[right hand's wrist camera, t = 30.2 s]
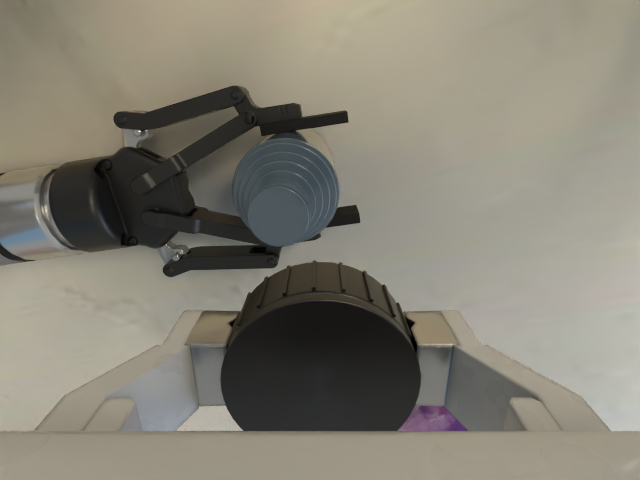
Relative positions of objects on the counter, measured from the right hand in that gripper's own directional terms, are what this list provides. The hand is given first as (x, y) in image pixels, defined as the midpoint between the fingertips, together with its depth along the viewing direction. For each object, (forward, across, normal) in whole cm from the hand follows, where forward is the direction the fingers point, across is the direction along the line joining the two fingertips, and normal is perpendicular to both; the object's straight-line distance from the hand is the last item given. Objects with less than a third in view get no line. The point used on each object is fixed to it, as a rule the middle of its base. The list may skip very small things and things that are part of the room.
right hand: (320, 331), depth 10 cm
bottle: (+28, +2, 0) cm, 28 cm away
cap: (-2, 0, 0) cm, 2 cm away
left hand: (+21, -3, -1) cm, 22 cm away
